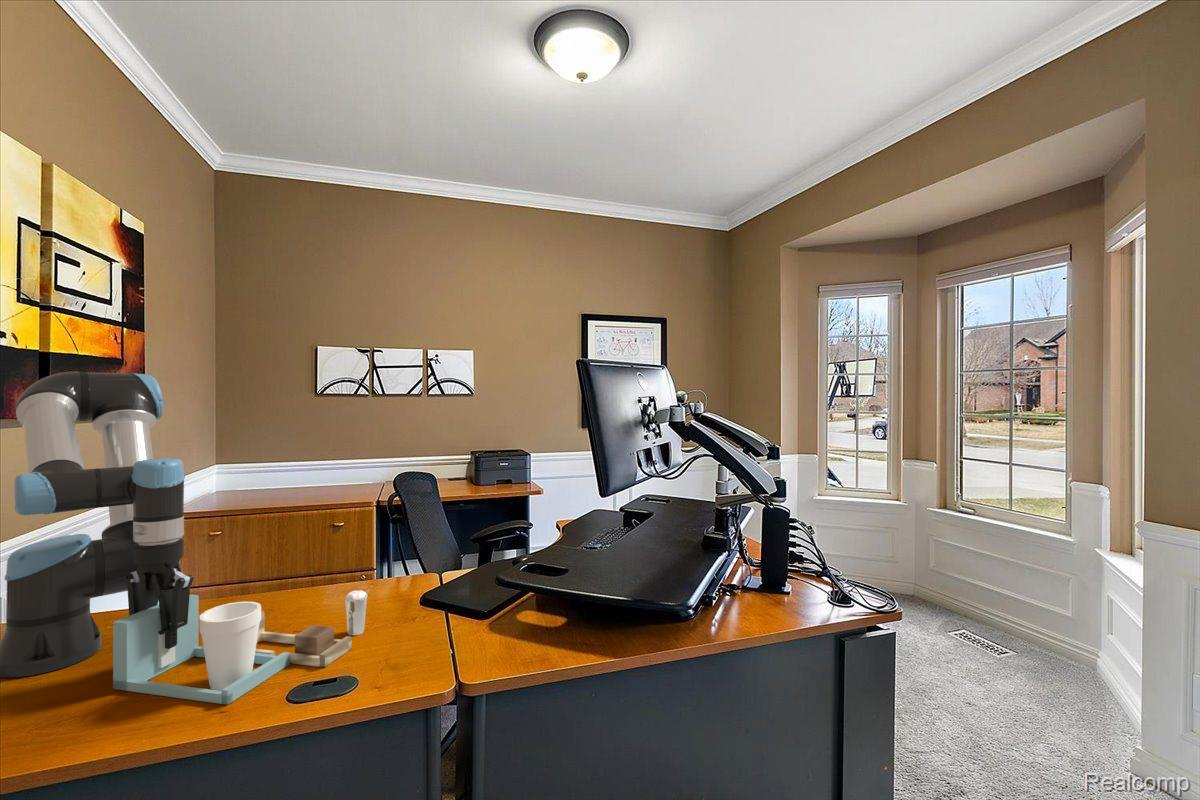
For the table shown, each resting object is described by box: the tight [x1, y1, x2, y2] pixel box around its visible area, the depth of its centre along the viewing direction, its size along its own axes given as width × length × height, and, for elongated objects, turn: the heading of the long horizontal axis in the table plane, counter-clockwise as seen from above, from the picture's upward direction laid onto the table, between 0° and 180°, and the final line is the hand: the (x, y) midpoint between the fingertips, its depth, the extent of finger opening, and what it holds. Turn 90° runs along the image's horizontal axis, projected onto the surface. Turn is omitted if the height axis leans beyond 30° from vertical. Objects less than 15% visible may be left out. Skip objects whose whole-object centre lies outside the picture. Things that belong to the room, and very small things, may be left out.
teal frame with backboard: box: [112, 593, 290, 705], centre depth 100 cm, size 24×14×12 cm, turn 79°
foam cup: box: [199, 601, 262, 691], centre depth 99 cm, size 10×9×13 cm
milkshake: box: [344, 588, 370, 637], centre depth 119 cm, size 4×5×10 cm
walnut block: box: [294, 624, 335, 656], centre depth 109 cm, size 5×5×5 cm
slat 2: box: [287, 635, 353, 668], centre depth 109 cm, size 10×8×2 cm
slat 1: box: [255, 610, 296, 655], centre depth 111 cm, size 12×8×6 cm, turn 79°
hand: (158, 662), depth 102 cm, fingers closed on teal frame with backboard, 3 cm apart
